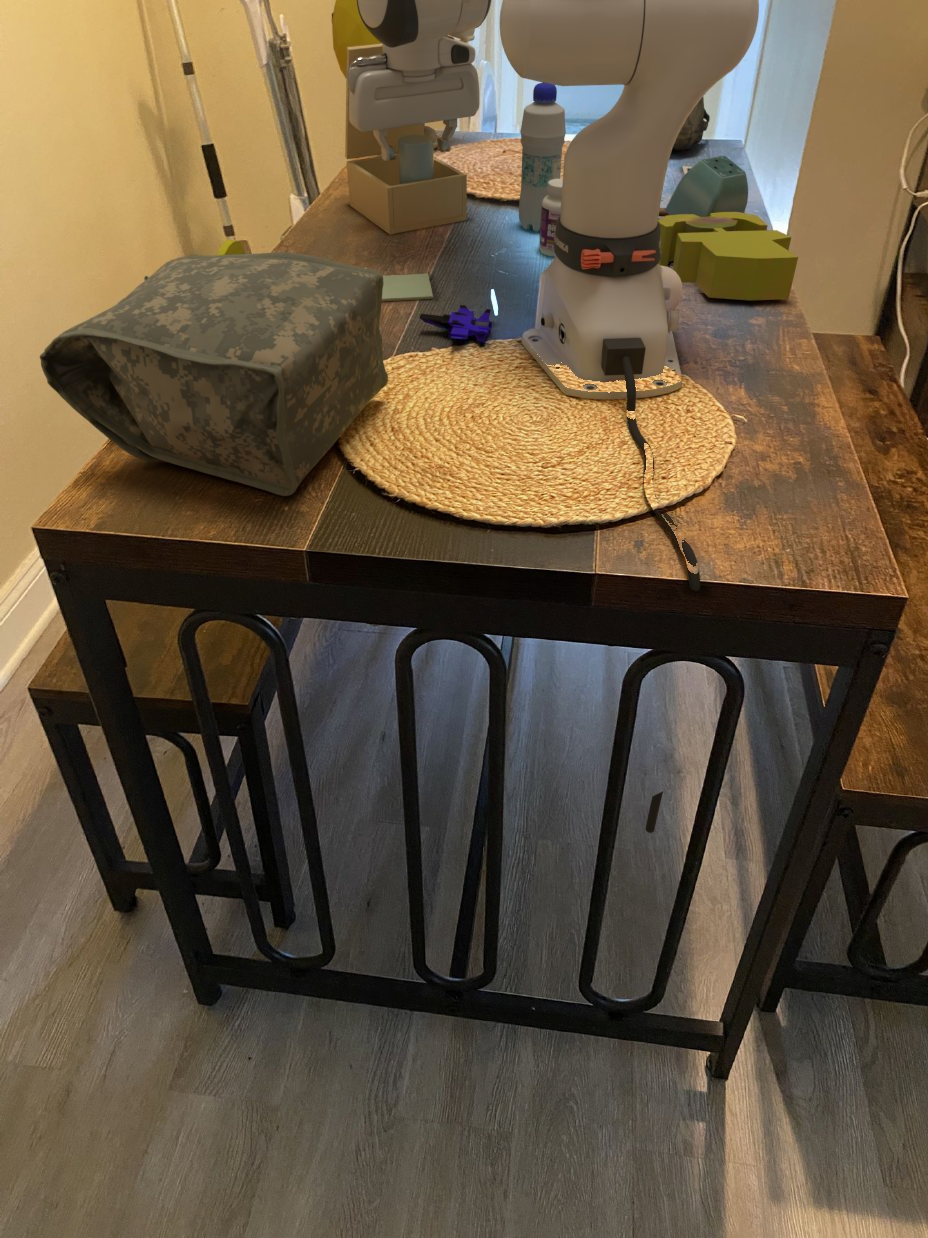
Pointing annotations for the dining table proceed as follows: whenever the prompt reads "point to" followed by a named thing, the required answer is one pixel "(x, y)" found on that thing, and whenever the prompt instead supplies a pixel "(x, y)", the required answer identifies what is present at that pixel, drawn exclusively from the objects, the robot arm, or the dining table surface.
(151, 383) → the lunch bag
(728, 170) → the flower pot
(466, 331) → the toy spaceship
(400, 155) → the grey cylinder
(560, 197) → the pill bottle
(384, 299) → the mat
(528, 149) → the bottle
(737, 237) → the toy
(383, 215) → the chest
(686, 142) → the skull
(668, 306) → the egg
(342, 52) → the toy
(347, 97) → the lid
